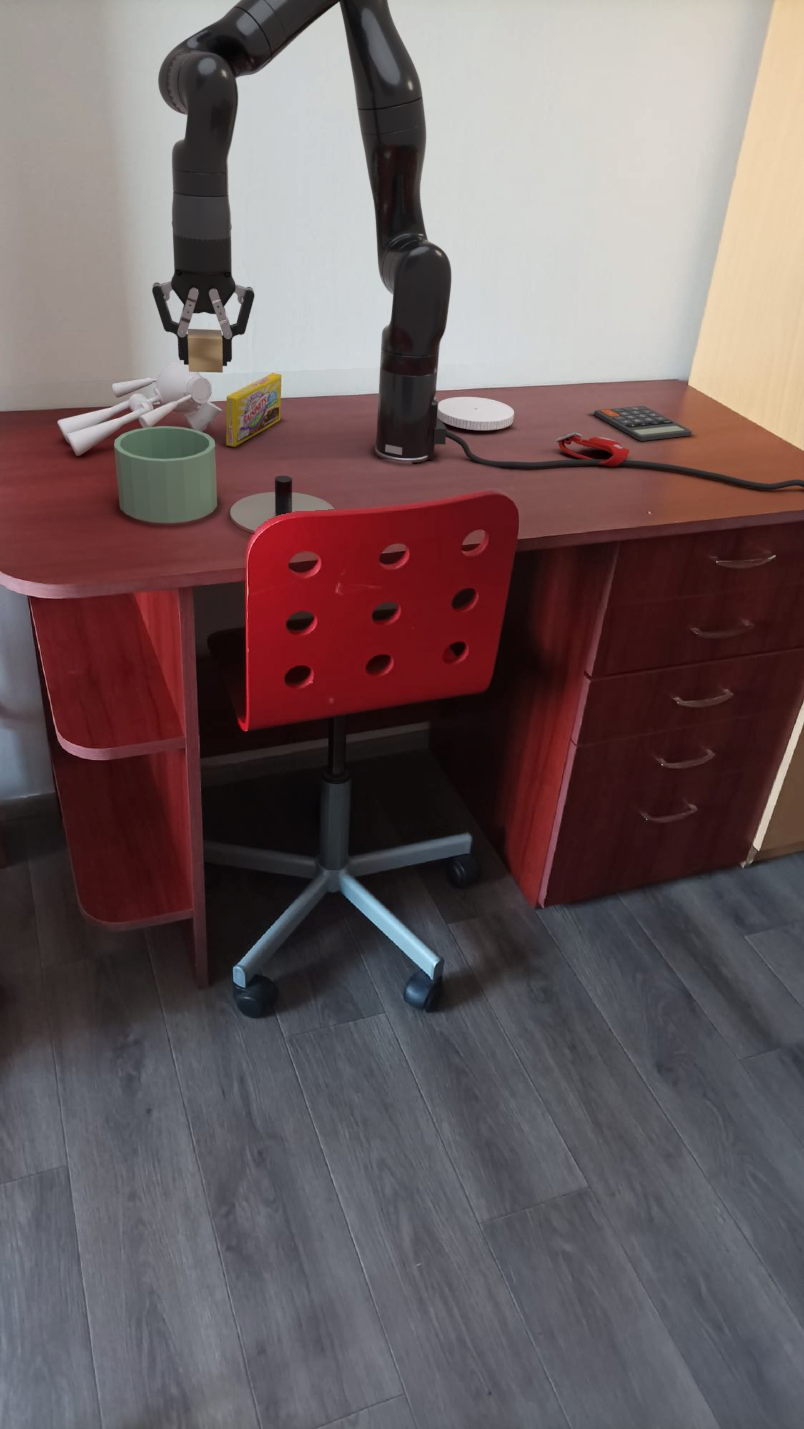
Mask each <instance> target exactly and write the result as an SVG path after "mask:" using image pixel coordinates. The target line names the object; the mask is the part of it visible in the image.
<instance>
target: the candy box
mask: <svg viewBox="0 0 804 1429" xmlns="http://www.w3.org/2000/svg"><path fill="white" fill-rule="evenodd" d="M281 403H282V374H279V373H275V372H272V373H270V374H268V375H266V376H264V377H262V378H260V379H258V380H256V381H253V382H252V383H250V384H248V385H246V386H244V387H242V388H241V389H238V390H237V391H234V392H232V393H230V394H228V395H226V404H225V406H226V410H225V413H226V414H225V415H226V416H225V427H226V428H225V446H227V447H232V448H236V447H238V446H240V444H242V443H244V442H246V441H248V440H249V439H251V438H253V437H255V436H256V435H257V434H259V433H261V432H263V431H265V430H267V429H268V428H270V427H271V426H273V425H275V424H276V423H278V422H280V421H281V409H282V408H281V407H282V406H281V405H282V404H281Z"/></svg>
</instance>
